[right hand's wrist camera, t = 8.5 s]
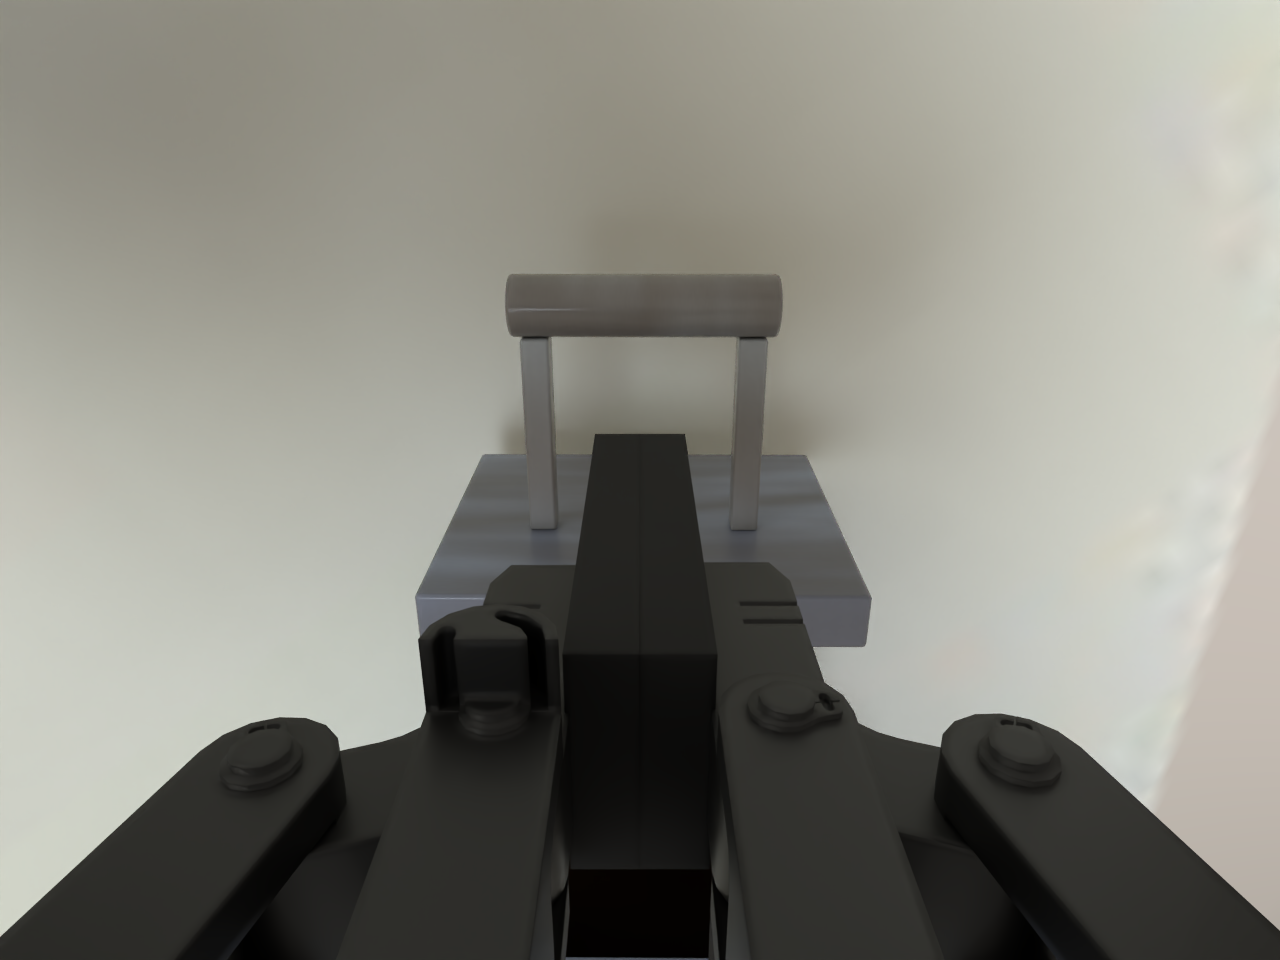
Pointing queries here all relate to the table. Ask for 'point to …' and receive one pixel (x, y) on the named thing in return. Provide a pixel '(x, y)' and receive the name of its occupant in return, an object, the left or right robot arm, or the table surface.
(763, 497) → the drawer
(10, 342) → the table surface
